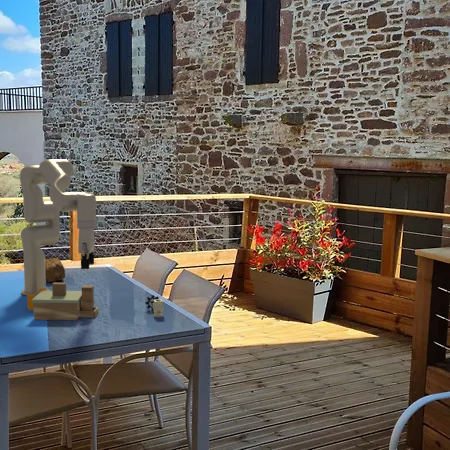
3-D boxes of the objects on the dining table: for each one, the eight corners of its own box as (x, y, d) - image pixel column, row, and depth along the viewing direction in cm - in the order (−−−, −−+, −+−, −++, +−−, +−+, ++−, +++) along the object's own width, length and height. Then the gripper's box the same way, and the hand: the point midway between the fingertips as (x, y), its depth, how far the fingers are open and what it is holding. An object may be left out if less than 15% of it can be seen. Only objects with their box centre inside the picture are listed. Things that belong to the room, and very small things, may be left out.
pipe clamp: (37, 302, 268) (37, 288, 267) (46, 303, 267) (46, 288, 266) (23, 309, 256) (23, 294, 256) (33, 310, 256) (33, 295, 255)
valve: (167, 316, 250) (160, 309, 261) (167, 301, 249) (160, 294, 260) (151, 318, 247) (145, 310, 258) (151, 302, 246) (144, 295, 257)
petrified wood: (69, 281, 307) (64, 262, 304) (43, 288, 302) (38, 269, 299) (63, 272, 324) (58, 254, 322) (38, 279, 319) (33, 261, 317)
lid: (42, 293, 256) (42, 278, 255) (85, 293, 256) (85, 279, 255) (31, 302, 241) (31, 287, 240) (77, 303, 241) (77, 288, 240)
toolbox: (43, 309, 256) (43, 293, 255) (99, 310, 257) (99, 294, 256) (34, 319, 242) (33, 302, 241) (93, 320, 243) (93, 303, 242)
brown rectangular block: (84, 313, 252) (83, 285, 250) (93, 313, 252) (93, 285, 250) (82, 316, 248) (81, 287, 246) (91, 316, 248) (91, 287, 246)
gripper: (82, 221, 253) (82, 262, 255) (72, 227, 236) (73, 270, 238) (100, 222, 253) (100, 262, 255) (91, 227, 236) (92, 270, 238)
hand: (87, 266), depth 247 cm, fingers open, 9 cm apart
